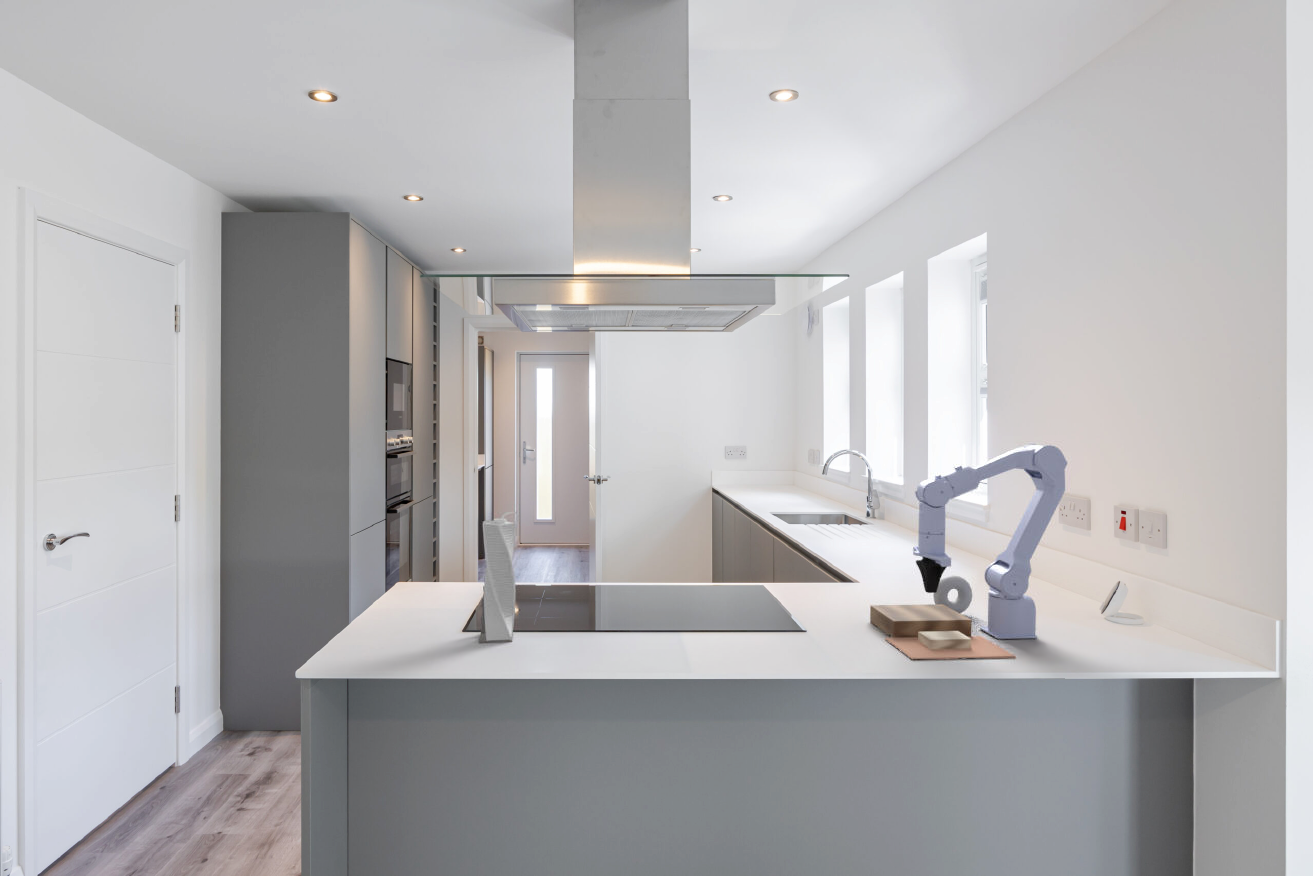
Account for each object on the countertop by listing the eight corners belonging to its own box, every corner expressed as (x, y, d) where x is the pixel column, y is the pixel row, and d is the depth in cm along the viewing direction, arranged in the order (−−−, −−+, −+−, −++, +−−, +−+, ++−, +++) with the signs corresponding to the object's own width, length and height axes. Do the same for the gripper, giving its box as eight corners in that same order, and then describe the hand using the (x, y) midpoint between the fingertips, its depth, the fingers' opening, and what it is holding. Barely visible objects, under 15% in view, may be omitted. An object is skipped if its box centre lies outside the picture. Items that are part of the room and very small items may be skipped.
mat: (980, 637, 168) (980, 636, 168) (1015, 657, 154) (1015, 656, 154) (885, 639, 166) (885, 637, 166) (911, 660, 152) (911, 658, 152)
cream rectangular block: (971, 639, 159) (971, 648, 159) (957, 631, 165) (957, 640, 165) (930, 639, 158) (930, 649, 158) (918, 631, 164) (918, 640, 164)
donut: (937, 617, 185) (938, 577, 185) (930, 614, 189) (930, 574, 188) (974, 616, 187) (975, 576, 186) (967, 612, 190) (967, 573, 190)
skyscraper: (519, 632, 170) (519, 509, 170) (518, 643, 162) (518, 513, 162) (480, 633, 169) (480, 509, 168) (478, 644, 161) (478, 514, 160)
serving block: (942, 620, 182) (942, 604, 182) (971, 637, 168) (971, 619, 168) (870, 621, 181) (870, 605, 181) (893, 639, 167) (893, 621, 167)
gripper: (901, 528, 178) (900, 585, 178) (929, 538, 164) (928, 600, 164) (929, 527, 179) (929, 584, 179) (960, 537, 164) (959, 599, 165)
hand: (930, 592), depth 172 cm, fingers closed
